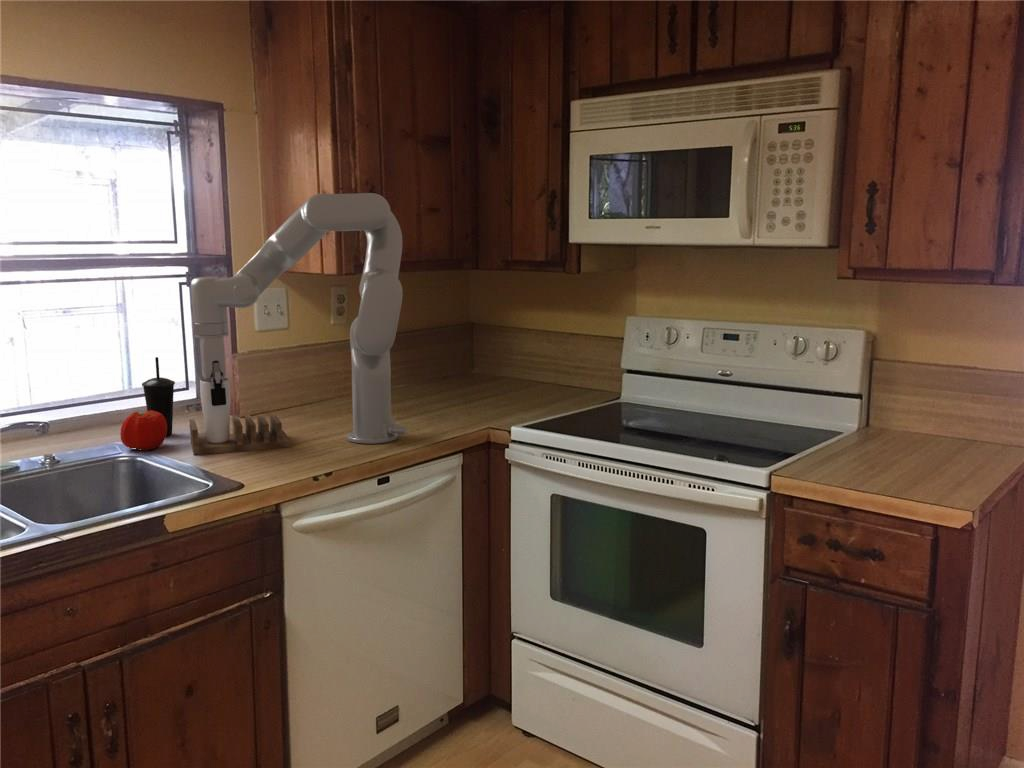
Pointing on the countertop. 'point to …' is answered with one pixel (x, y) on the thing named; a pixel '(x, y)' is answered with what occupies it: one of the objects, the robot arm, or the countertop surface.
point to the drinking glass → (215, 413)
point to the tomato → (144, 430)
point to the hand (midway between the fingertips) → (217, 401)
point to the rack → (243, 436)
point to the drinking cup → (160, 397)
